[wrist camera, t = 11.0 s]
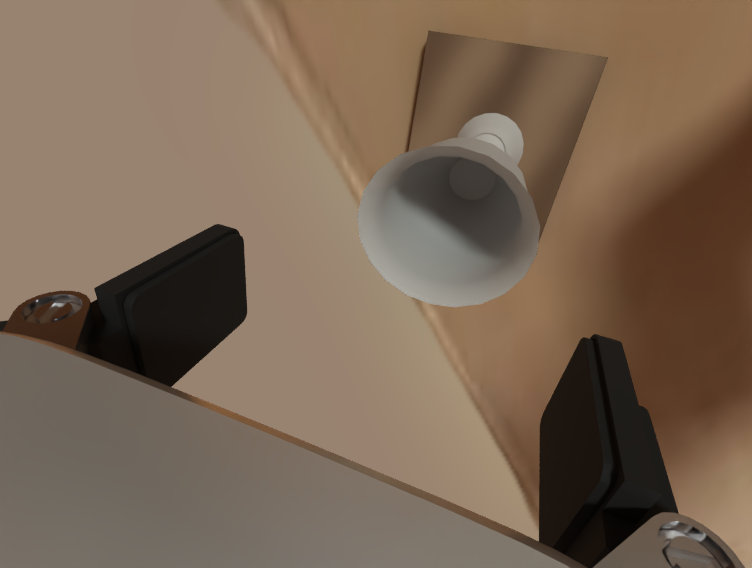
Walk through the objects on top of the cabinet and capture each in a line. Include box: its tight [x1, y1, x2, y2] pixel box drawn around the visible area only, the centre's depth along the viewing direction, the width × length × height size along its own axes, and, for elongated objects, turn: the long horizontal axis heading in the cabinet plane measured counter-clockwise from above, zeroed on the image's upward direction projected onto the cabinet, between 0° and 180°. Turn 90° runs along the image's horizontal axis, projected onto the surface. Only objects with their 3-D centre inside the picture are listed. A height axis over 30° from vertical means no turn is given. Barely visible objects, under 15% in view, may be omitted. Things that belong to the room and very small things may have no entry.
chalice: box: [358, 113, 540, 307], centre depth 24 cm, size 7×7×18 cm
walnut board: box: [408, 31, 608, 243], centre depth 32 cm, size 12×14×2 cm
